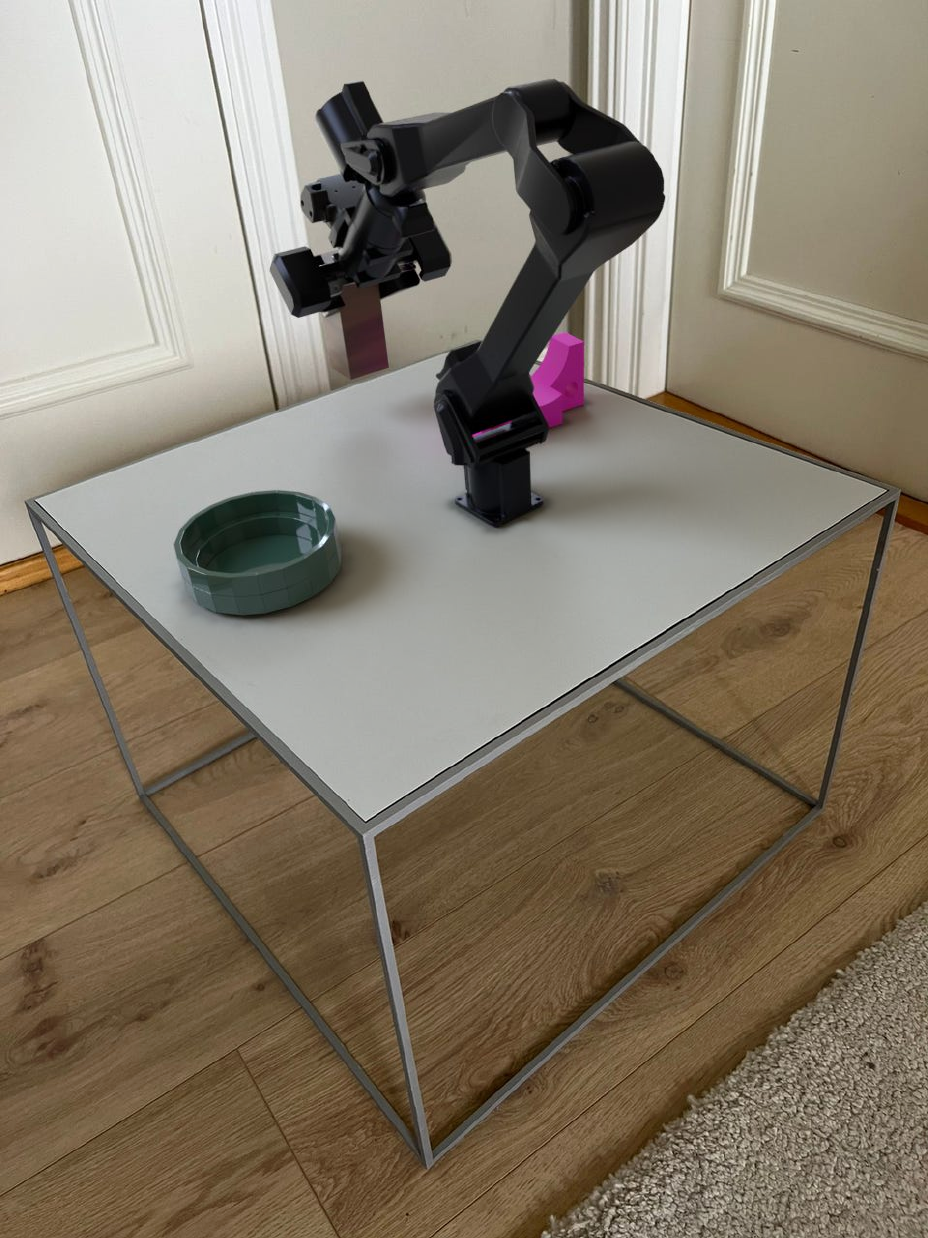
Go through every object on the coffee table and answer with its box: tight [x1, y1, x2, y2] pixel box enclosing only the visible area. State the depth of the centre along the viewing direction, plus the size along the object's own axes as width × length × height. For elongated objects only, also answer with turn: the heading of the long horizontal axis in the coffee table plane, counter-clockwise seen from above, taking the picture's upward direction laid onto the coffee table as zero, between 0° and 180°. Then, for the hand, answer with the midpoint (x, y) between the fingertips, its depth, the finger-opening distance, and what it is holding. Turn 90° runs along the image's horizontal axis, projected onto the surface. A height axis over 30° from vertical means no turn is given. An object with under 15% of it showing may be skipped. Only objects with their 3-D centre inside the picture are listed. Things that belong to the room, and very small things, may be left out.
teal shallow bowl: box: [173, 489, 343, 616], centre depth 85 cm, size 14×14×4 cm
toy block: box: [472, 331, 585, 437], centre depth 105 cm, size 15×6×8 cm, turn 119°
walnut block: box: [315, 249, 390, 381], centre depth 104 cm, size 5×5×12 cm
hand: (345, 307), depth 105 cm, fingers closed on walnut block, 5 cm apart
